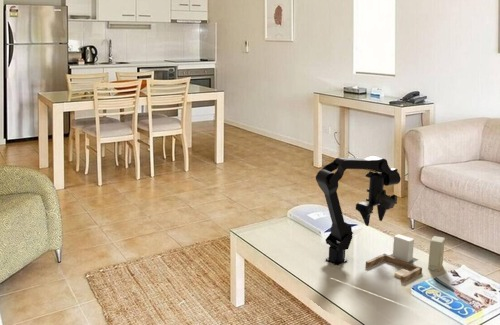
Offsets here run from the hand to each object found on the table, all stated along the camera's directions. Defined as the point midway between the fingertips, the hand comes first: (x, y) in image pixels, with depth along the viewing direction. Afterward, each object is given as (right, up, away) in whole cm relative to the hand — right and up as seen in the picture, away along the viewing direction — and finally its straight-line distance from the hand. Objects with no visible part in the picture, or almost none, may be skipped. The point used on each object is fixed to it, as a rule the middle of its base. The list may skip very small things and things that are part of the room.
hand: (373, 223), depth 211 cm
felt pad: (+11, -14, -3) cm, 18 cm away
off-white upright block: (+11, -14, -3) cm, 18 cm away
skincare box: (+21, -16, -11) cm, 29 cm away
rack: (+4, -17, -14) cm, 22 cm away
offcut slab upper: (+6, -18, -18) cm, 26 cm away
